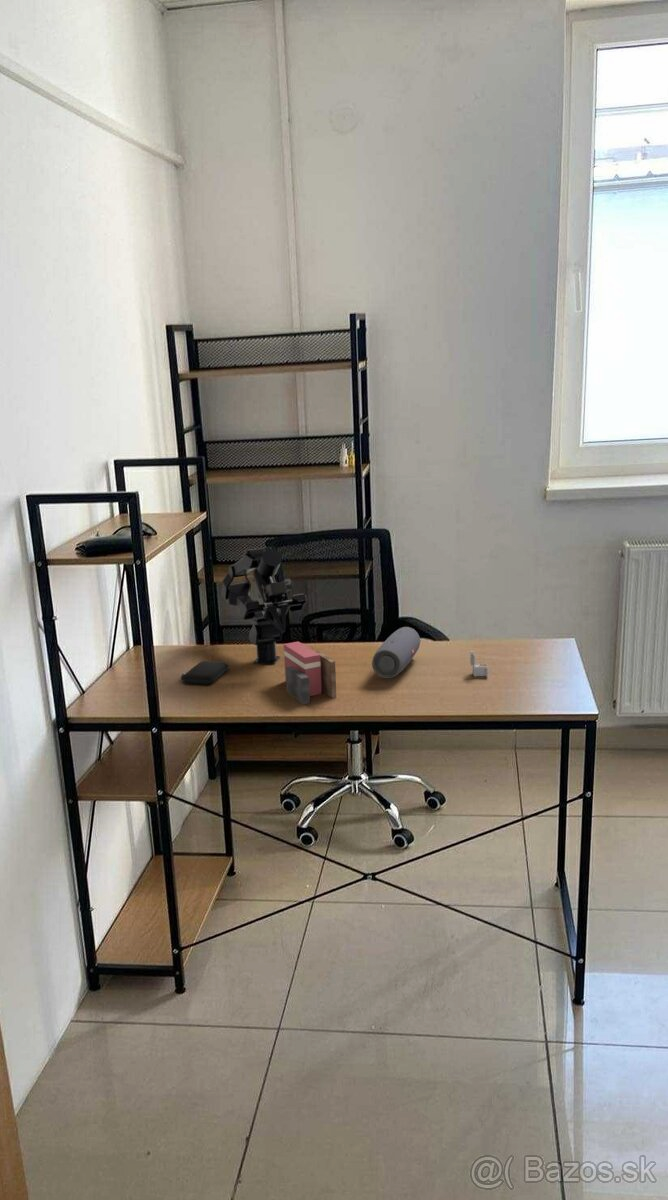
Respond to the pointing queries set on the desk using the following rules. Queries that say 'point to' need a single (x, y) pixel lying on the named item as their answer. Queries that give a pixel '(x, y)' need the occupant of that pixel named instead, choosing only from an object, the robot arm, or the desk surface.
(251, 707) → the desk surface
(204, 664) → the carrying case or bag
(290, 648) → the book
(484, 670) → the architectural model
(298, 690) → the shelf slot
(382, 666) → the bluetooth speaker
